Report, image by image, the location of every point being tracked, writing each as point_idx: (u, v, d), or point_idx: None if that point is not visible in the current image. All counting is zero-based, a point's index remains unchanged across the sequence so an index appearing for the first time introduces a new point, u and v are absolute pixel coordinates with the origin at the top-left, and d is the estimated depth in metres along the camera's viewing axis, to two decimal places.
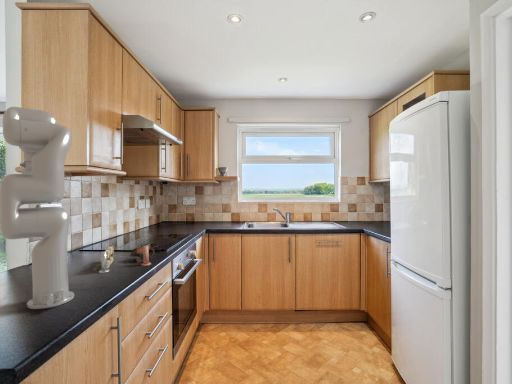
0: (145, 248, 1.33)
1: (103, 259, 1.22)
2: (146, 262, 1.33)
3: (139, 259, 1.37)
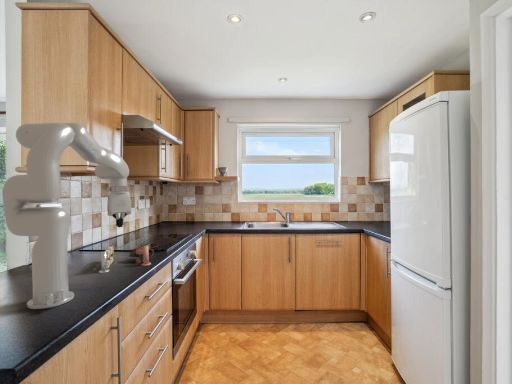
0: (145, 248, 1.33)
1: (103, 259, 1.22)
2: (146, 262, 1.33)
3: (138, 259, 1.37)
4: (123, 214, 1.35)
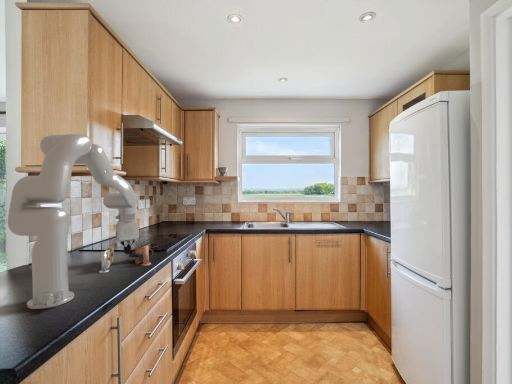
0: (145, 248, 1.33)
1: (103, 259, 1.22)
2: (146, 262, 1.33)
3: (138, 260, 1.36)
4: (131, 241, 1.37)
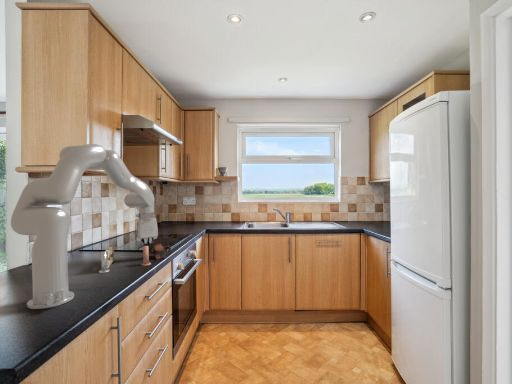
0: (145, 248, 1.33)
1: (103, 259, 1.22)
2: (146, 262, 1.33)
3: (158, 256, 1.43)
4: (150, 239, 1.44)
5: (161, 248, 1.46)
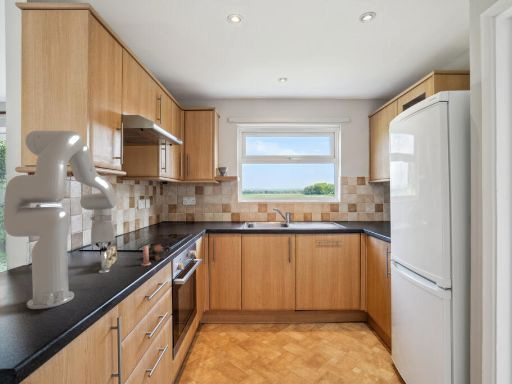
0: (145, 248, 1.33)
1: (103, 259, 1.22)
2: (146, 262, 1.33)
3: (158, 256, 1.42)
4: (106, 243, 1.33)
5: (160, 249, 1.45)
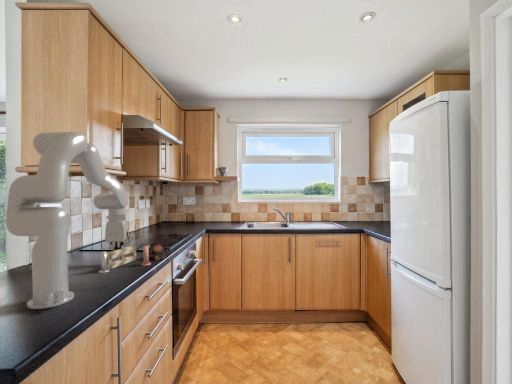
0: (145, 248, 1.33)
1: (103, 259, 1.22)
2: (146, 262, 1.33)
3: (157, 257, 1.42)
4: (118, 243, 1.34)
5: (160, 249, 1.44)
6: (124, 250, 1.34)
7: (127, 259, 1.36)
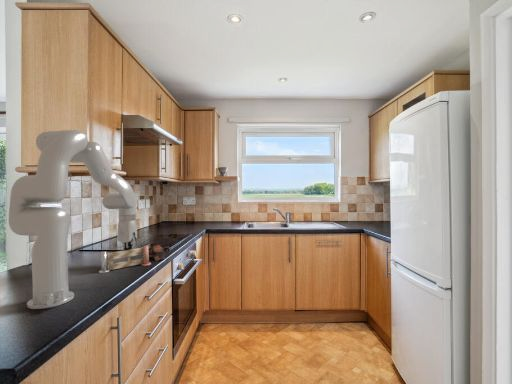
0: (145, 248, 1.33)
1: (103, 259, 1.22)
2: (146, 262, 1.33)
3: (157, 257, 1.41)
4: (127, 243, 1.32)
5: (160, 249, 1.44)
6: (131, 251, 1.31)
7: (135, 261, 1.32)
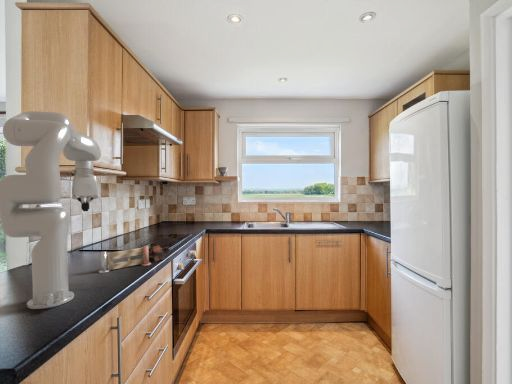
0: (145, 248, 1.33)
1: (103, 259, 1.22)
2: (146, 262, 1.33)
3: (157, 258, 1.40)
4: (89, 198, 1.31)
5: (160, 250, 1.42)
6: (131, 252, 1.31)
7: (135, 261, 1.32)
